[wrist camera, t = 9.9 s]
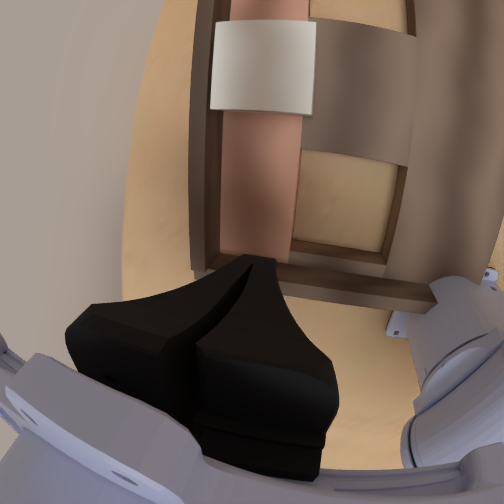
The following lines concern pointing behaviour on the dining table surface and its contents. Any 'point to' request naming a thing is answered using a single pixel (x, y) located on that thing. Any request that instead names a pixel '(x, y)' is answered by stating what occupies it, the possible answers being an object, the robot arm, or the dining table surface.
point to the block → (264, 67)
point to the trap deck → (360, 152)
